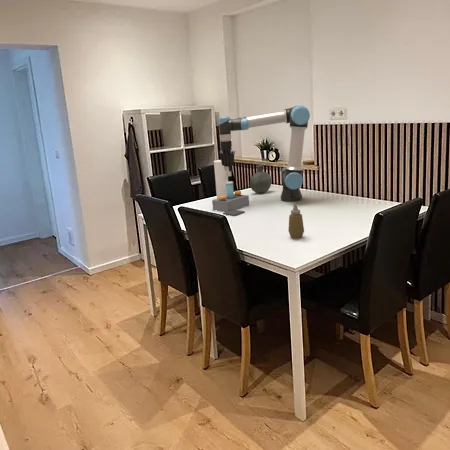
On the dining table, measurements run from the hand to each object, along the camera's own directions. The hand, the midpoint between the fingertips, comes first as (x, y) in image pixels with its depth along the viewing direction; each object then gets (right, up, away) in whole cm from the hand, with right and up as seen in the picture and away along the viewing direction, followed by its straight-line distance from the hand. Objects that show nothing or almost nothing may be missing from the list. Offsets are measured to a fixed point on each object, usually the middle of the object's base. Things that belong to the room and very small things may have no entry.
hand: (228, 175), depth 298 cm
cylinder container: (-4, -15, +32) cm, 35 cm away
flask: (+26, -9, +46) cm, 53 cm away
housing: (+2, -21, +6) cm, 22 cm away
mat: (+3, -26, -11) cm, 28 cm away
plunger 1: (-4, -22, 0) cm, 23 cm away
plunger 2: (+7, -18, +12) cm, 23 cm away
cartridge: (+2, -21, +6) cm, 22 cm away
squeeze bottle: (+34, -40, -70) cm, 88 cm away
